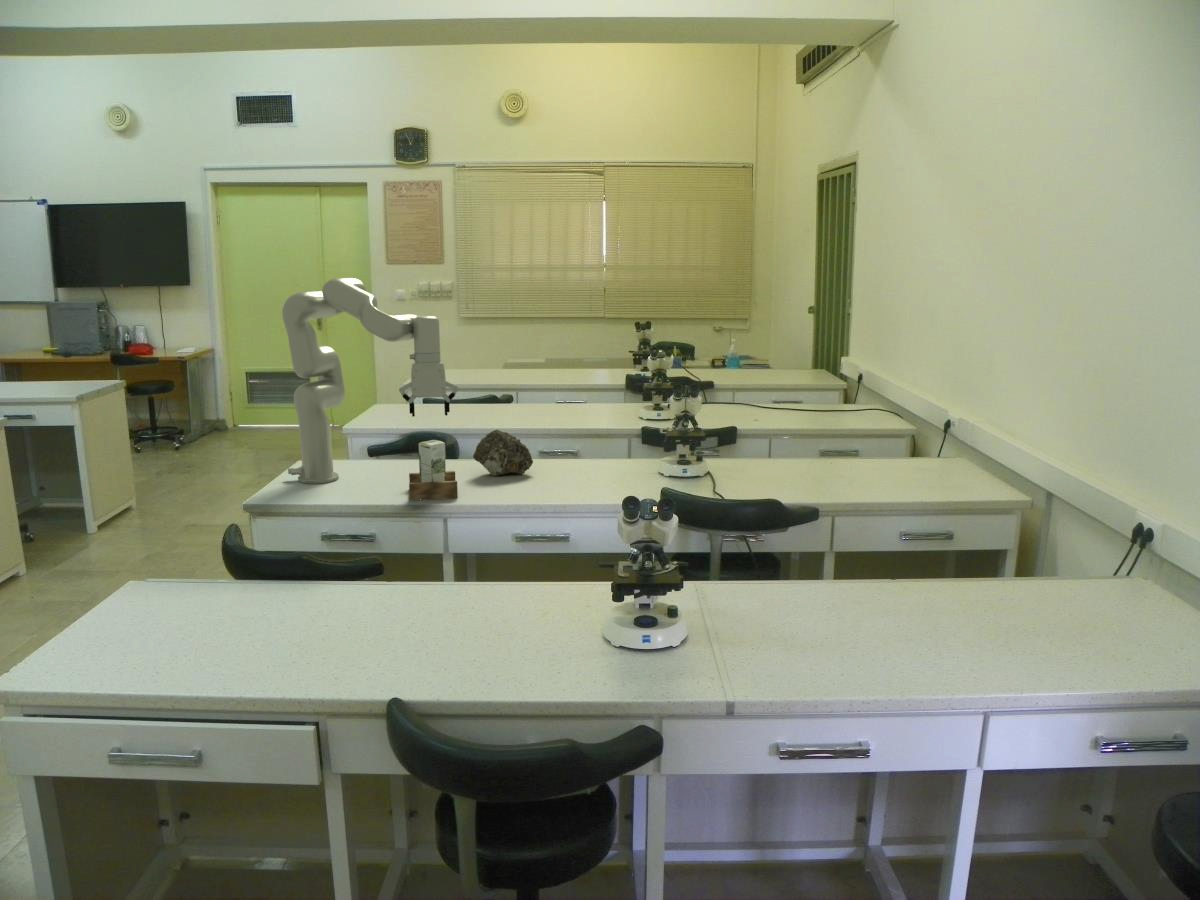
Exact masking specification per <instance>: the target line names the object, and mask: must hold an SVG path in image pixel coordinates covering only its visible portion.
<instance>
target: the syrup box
mask: <svg viewBox="0 0 1200 900" xmlns="http://www.w3.org/2000/svg"><path fill="white" fill-rule="evenodd" d="M418 461H419V462H418V464H419V465H418V466H419V473H420V482H440V481H446V471H447V470H446V465H447V464H446V443H445V442H443V441H441V440H437V439H431V440H427V441H421V442H419V443H418Z"/></svg>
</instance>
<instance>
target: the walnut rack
mask: <svg viewBox="0 0 1200 900" xmlns="http://www.w3.org/2000/svg"><path fill="white" fill-rule="evenodd" d="M408 474H409V475H408V477H409V478H408V479H409V482H408V483H409V484H408V488H409V489H408V491H409V501H410V500H413V501H425V500H424V499H431V500H442V499H441V498H450V499H458V497H459V496H458V495H459V494H458V481H457V480H456V470H449V471H447V470H446V481H440V482H420V472H409V473H408ZM420 499H422V500H420Z"/></svg>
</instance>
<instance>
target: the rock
mask: <svg viewBox="0 0 1200 900" xmlns="http://www.w3.org/2000/svg"><path fill="white" fill-rule="evenodd" d="M472 457H473V459H474V460H475V461H477V462H478V463H479V464H480V465H482V466H483V468H484V469H486V471H487V472H488V473H490V474H491V476H496V475H499V476H503V475H509V474H510V473H515V474H517V475H521V474H523V475H524V474H525V473H526V471H527V470H530V468H531V467H532V466H533V464H534V460H533V458H532V454H531V452H530V450H529V448H527V446H526V444H523V443H522V442H521V439H520V438H517V437H516V436H513V435H512V434H510V433H509V432H505V431H504V432H503V431H502V430H499V429H495V430H492V431H490V432H489V433H487V434H486V436H484V437H482V438H481V439H480V441H479V442H478V443H477V445H476V448H475V451H474V452H473V455H472ZM500 474H501V475H500Z"/></svg>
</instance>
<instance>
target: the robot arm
mask: <svg viewBox="0 0 1200 900" xmlns="http://www.w3.org/2000/svg"><path fill="white" fill-rule="evenodd" d="M282 306H283V307H282V312H281V313H282V320H283V323H284V327H285V329H286V333H287V337H288V338H287V339H288V346H289V351H290V356H291V362H292V368H293V371H294V373H295V374H296V376H298V377H299V378H301V379H312V378H317V380H314V381H309V382H305V383H303V384H301V385H299V386H297V388H296V389H295V390H294V393H293V403H294V408H295V410H296V415H297V420H298V430H299V431H298V433H299V441H300V452H301V453H300V454H301V455H300V457H301V466H298V467H297V468H295V467H289V468H287V474H288V475H291V476H296V475H298V476H297V482H300V483H301V484H308V485H309V484H312V485H313V484H314V485H315V484H316V485H319V484H325V483H332V482H335V481H337V480H338V479H339V478H340V477H339V473H337V472H334V461H333V445H332V433H331V424H330V420H329V418H328V415H327V413H326V412H325V411H326V410H331V409H334V408H338V407H339V406H341V405H342V403H344V400H345V396H346V392H345V391H346V389H345V385H344V384H345V383H344V378H343V371H342V364H341V360H340V357H339V355H338V353H337V352H336V351H335V349H334V348H332V347H331V346H329V345H319V342H318V338H317V333H316V331H315V328H314V326H313V325H312V324H311V322H310V320H314V319H324V318H332V317H335V316H337V315H338V316H339V315H340V314H342V313H346V314H348V315H350V316H352V318H355V319H357V320H359V321H360V324H361V325H362V326H363V328H365V330H367V331H368V332H369V333H370V334H372V335H374V336H376V337H378V338H380V339H382V340H384V341H388V342H390V343H392V342H393V343H395V342H402V341H409V340H413V350H414V353H412V354H409V360H412V361H414V362H413V363H412V365H411V372H410V376H411V377H410V382H408V383H406V384H405V385H403V386H401V387H399V389H398V391H399V393H400V395H401V396H402V397H403V399H404V400H405V401H407V403H408V404H409V414H410V415H411V417H412V418H413V417H416V415H415V402H414V401H415V400H416V398H439V397H440V398H441V397H442V398H443V400H444V402H443V404H444V416H448V413H450V412H451V411H450V402H451V401H452V399H454V398H455V396H456V395H457V393H458V390H459V387H458V386H457V385H455V384H453V383H451V382H449V381H447V379H446V369H445V365H444V362H441V361H442V360H441V339H440V337H441V336H440V319H439V318H438V317H437V316H434V315H418V314H413V313H407V314H395V315H390V314H387V313H386V312H384V311H381V310H379V309H378V299H377V298H376V296H375V295H373V294H372V293H370V292H368V291H367V288H366V286H365V284H364V283H363V282H362V281H361V280H360V279H357V278H354V277H337V278H336V277H334V278H331V279H329V280H327V281H326V282H325V283H324V285H323V286H322V289H321V290H309V291H308V290H307V291H306V290H305V291H300V292H296V293H293V294H291V295H290V296H289V297H288V298H287V299H286V300H285V301H284V304H283V305H282ZM447 387H448V388H449V389H452V391H451V393H449V394H448V395H447ZM410 388H411V389H410ZM408 389H410V390H411V395H410V396H409V395H408V394H407V393H406V390H408ZM334 480H335V481H334Z"/></svg>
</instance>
